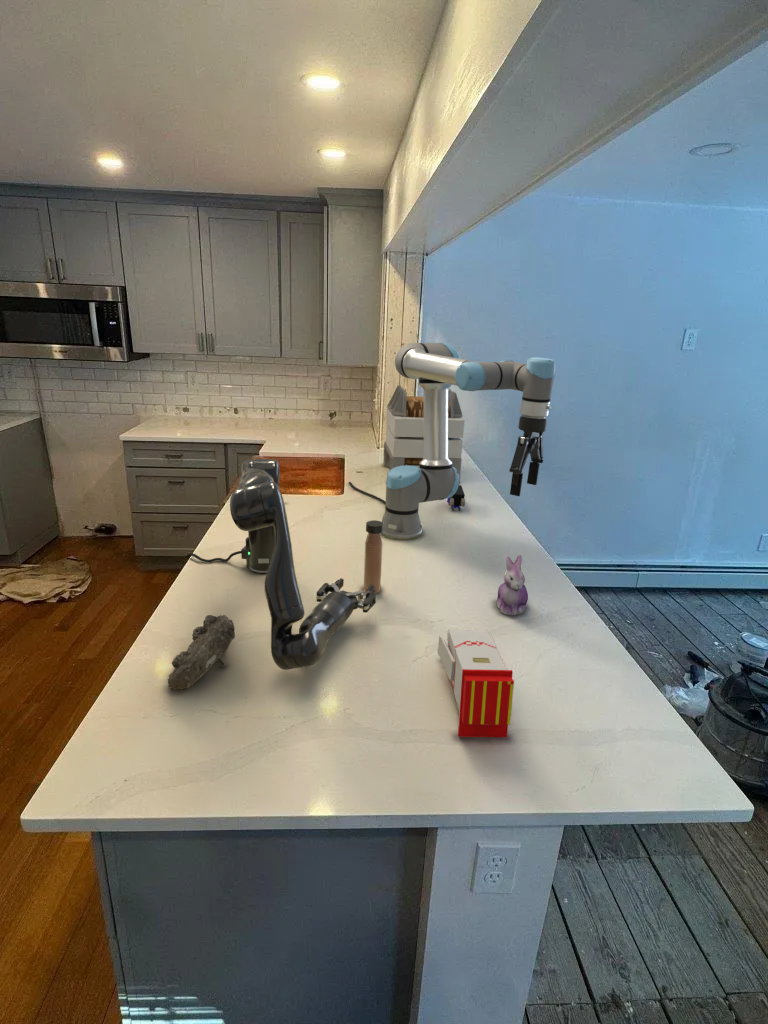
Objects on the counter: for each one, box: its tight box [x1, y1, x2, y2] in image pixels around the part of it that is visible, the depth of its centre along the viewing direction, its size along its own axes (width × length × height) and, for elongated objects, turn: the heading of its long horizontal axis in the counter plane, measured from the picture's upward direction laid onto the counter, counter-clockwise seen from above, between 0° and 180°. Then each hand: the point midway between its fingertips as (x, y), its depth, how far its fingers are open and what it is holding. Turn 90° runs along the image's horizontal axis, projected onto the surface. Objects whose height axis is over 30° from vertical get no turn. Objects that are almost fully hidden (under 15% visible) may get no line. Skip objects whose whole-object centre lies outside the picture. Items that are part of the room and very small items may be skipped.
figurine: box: [496, 554, 529, 616], centre depth 150 cm, size 9×10×15 cm
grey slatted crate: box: [383, 384, 465, 483], centre depth 268 cm, size 34×33×41 cm
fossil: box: [167, 614, 236, 691], centre depth 122 cm, size 22×10×15 cm
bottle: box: [363, 532, 383, 594], centre depth 156 cm, size 5×5×20 cm
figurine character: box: [446, 484, 466, 511], centre depth 229 cm, size 7×8×15 cm
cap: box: [365, 520, 383, 534], centre depth 153 cm, size 5×5×2 cm
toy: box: [437, 628, 515, 738], centre depth 117 cm, size 12×13×30 cm
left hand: (357, 584), depth 148 cm, fingers open, 8 cm apart
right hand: (523, 489), depth 163 cm, fingers open, 13 cm apart
